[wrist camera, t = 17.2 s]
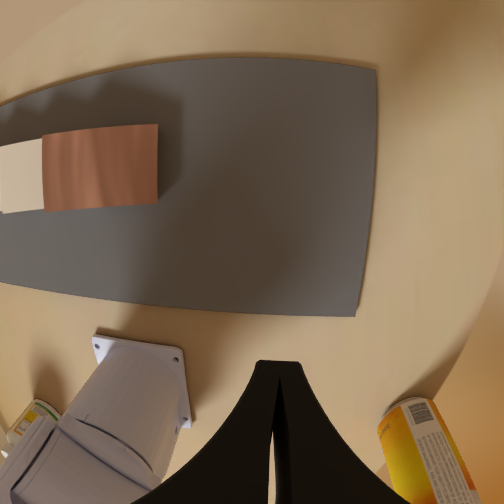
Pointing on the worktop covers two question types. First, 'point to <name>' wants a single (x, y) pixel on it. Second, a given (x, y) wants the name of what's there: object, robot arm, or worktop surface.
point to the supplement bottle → (27, 422)
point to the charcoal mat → (212, 188)
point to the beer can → (424, 455)
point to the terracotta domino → (100, 167)
